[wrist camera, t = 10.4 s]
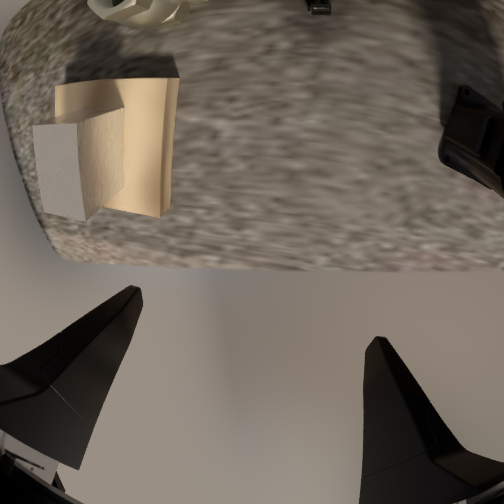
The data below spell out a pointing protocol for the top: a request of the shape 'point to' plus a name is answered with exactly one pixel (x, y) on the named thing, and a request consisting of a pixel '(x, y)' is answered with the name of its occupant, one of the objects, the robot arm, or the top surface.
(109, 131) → the aluminium block
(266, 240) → the top surface
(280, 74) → the top surface
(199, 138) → the top surface
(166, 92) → the oak plate
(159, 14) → the valve
